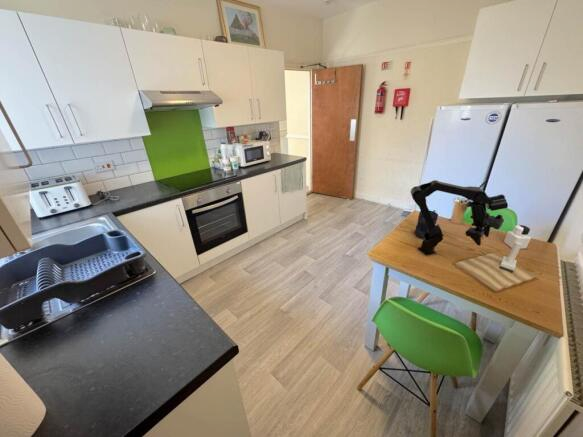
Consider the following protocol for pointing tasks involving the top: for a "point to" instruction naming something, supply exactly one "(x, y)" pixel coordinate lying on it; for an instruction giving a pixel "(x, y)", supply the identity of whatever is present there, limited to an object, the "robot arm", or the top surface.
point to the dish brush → (511, 258)
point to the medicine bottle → (518, 236)
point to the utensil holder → (460, 209)
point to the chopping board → (493, 272)
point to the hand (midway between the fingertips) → (483, 241)
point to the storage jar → (424, 224)
